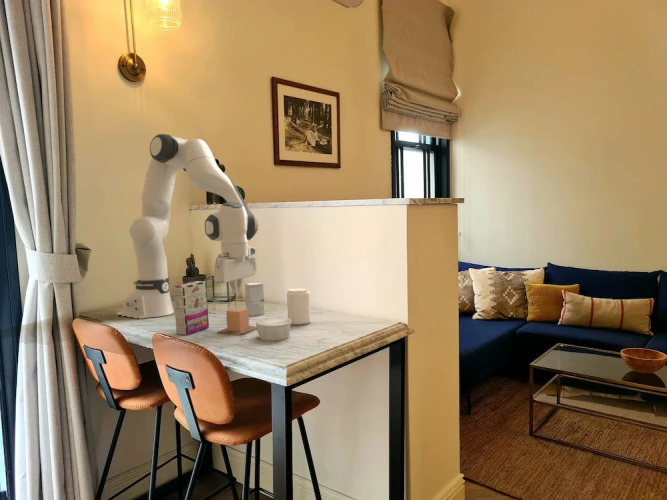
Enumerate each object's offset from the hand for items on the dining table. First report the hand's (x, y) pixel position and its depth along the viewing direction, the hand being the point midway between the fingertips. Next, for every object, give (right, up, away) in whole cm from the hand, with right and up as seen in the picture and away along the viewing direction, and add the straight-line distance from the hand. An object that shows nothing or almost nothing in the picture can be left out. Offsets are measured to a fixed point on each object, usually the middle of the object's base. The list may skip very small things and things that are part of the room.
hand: (236, 292), depth 171 cm
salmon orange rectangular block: (0, -12, +1) cm, 12 cm away
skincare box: (+2, -11, +26) cm, 28 cm away
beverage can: (+20, -12, +10) cm, 26 cm away
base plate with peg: (0, -13, +1) cm, 13 cm away
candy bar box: (-15, -14, +2) cm, 21 cm away
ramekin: (+14, -14, -9) cm, 21 cm away
